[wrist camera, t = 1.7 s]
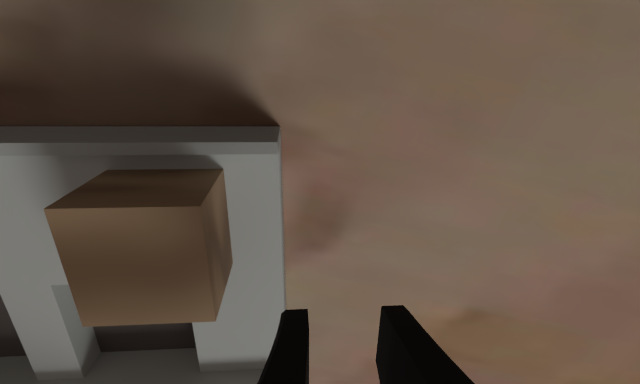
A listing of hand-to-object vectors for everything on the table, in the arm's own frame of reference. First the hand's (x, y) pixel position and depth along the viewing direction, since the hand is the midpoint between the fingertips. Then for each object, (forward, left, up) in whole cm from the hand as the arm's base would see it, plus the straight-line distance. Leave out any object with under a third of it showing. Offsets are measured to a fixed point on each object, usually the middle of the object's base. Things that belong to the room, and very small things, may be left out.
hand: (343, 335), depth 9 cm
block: (0, +7, -7) cm, 10 cm away
